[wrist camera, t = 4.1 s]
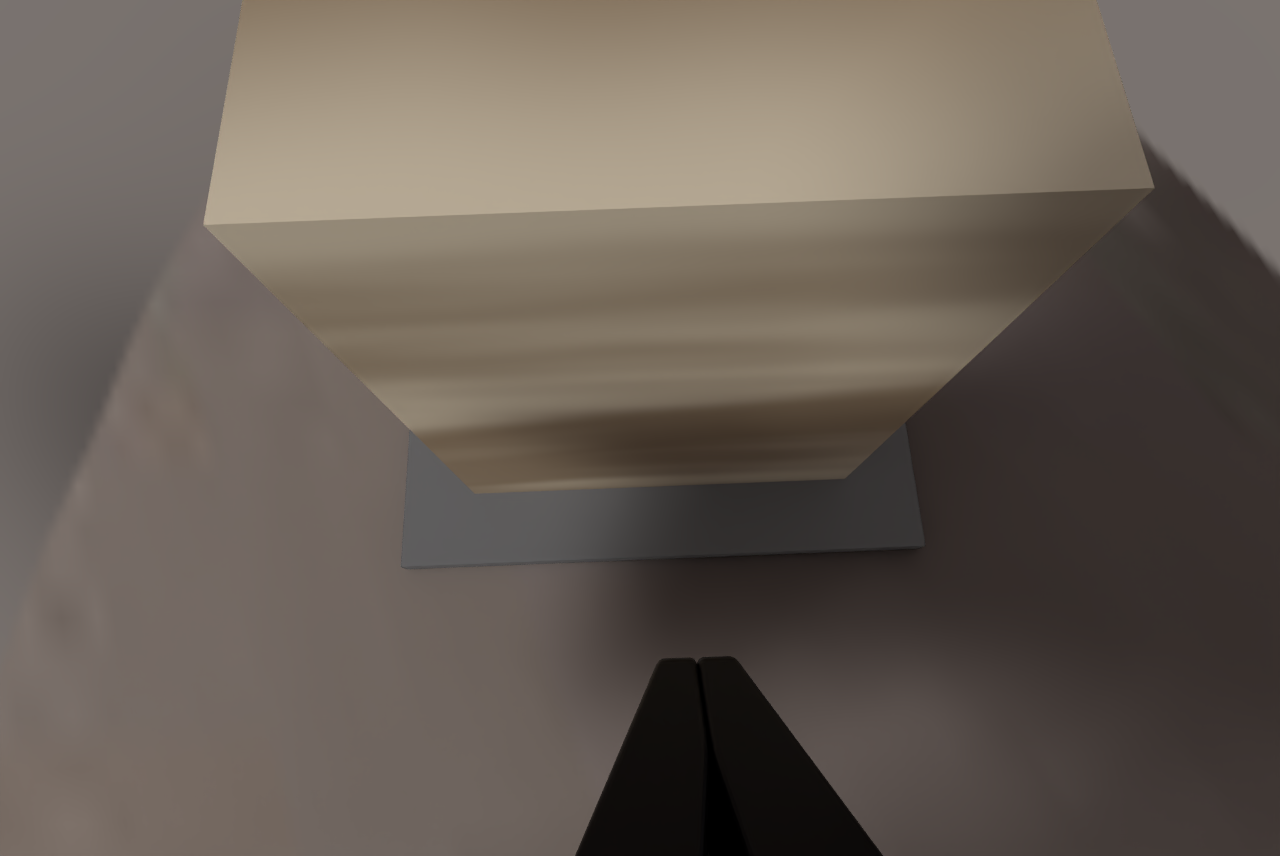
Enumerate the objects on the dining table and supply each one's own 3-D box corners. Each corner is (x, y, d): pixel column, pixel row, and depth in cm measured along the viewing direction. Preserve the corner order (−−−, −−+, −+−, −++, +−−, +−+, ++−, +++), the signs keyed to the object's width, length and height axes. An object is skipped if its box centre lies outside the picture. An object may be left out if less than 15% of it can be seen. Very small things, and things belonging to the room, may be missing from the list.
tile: (845, 478, 16) (1154, 188, 6) (474, 493, 16) (203, 225, 6) (826, 336, 17) (1064, -103, 7) (479, 349, 17) (255, -72, 7)
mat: (918, 548, 15) (925, 545, 15) (406, 569, 15) (401, 567, 15) (828, -15, 20) (832, -28, 20) (441, -1, 20) (438, -14, 20)
